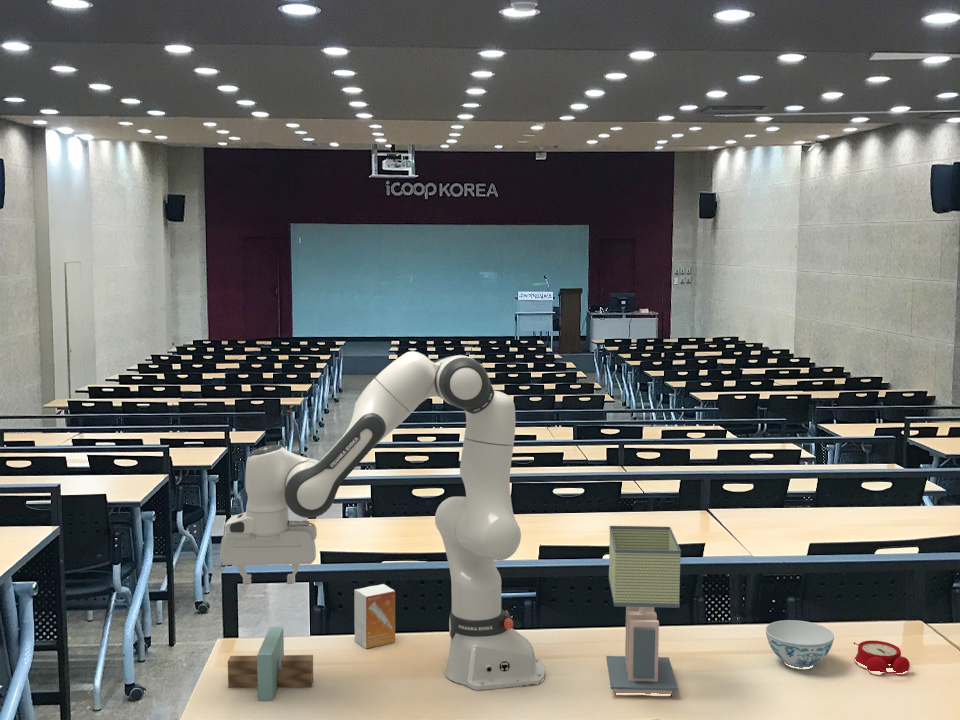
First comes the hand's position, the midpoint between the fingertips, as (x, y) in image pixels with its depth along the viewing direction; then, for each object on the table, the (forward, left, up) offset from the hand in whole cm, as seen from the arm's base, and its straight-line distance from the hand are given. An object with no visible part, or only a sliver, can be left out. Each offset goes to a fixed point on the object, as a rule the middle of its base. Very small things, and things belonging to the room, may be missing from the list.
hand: (269, 583), depth 228 cm
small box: (-21, -24, -23) cm, 39 cm away
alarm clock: (-137, -6, -23) cm, 139 cm away
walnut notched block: (0, 0, -23) cm, 23 cm away
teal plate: (0, 0, -23) cm, 23 cm away
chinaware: (-119, -8, -23) cm, 121 cm away
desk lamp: (-81, +1, -23) cm, 84 cm away
